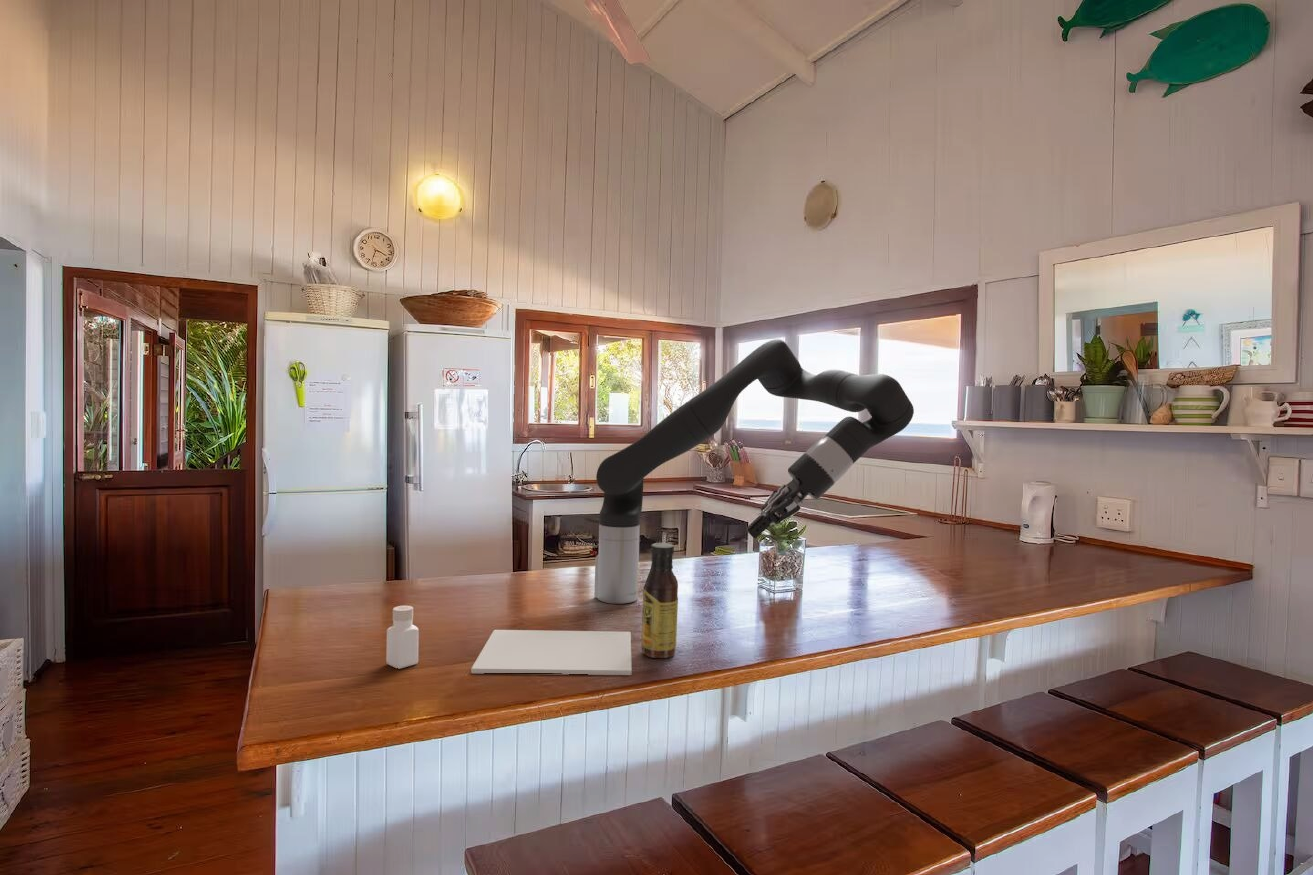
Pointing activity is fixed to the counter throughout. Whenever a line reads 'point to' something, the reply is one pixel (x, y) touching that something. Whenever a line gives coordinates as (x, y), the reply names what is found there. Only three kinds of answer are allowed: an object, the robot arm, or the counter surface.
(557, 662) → the cutting mat
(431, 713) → the counter surface
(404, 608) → the white pill bottle
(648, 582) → the sauce bottle
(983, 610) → the counter surface
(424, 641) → the counter surface
